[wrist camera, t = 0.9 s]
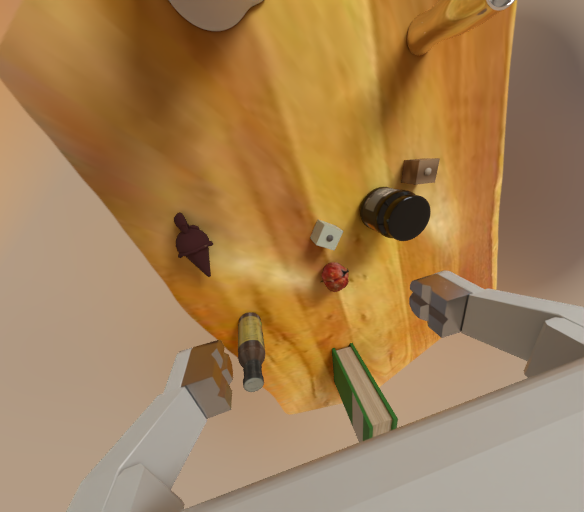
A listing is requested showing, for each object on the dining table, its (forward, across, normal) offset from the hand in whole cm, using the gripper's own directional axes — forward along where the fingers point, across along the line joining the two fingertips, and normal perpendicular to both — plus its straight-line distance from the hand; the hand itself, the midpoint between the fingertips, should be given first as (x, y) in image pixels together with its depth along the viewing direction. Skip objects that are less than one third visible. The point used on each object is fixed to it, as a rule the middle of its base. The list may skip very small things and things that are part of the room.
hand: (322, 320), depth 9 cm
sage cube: (+42, -13, +13) cm, 46 cm away
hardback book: (+43, -14, +64) cm, 78 cm away
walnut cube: (+42, -38, +3) cm, 57 cm away
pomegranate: (+43, -14, +25) cm, 51 cm away
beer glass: (+42, -38, -21) cm, 60 cm away
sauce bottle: (+43, +11, +33) cm, 55 cm away
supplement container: (+42, -28, +10) cm, 52 cm away
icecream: (+42, +16, +7) cm, 46 cm away
